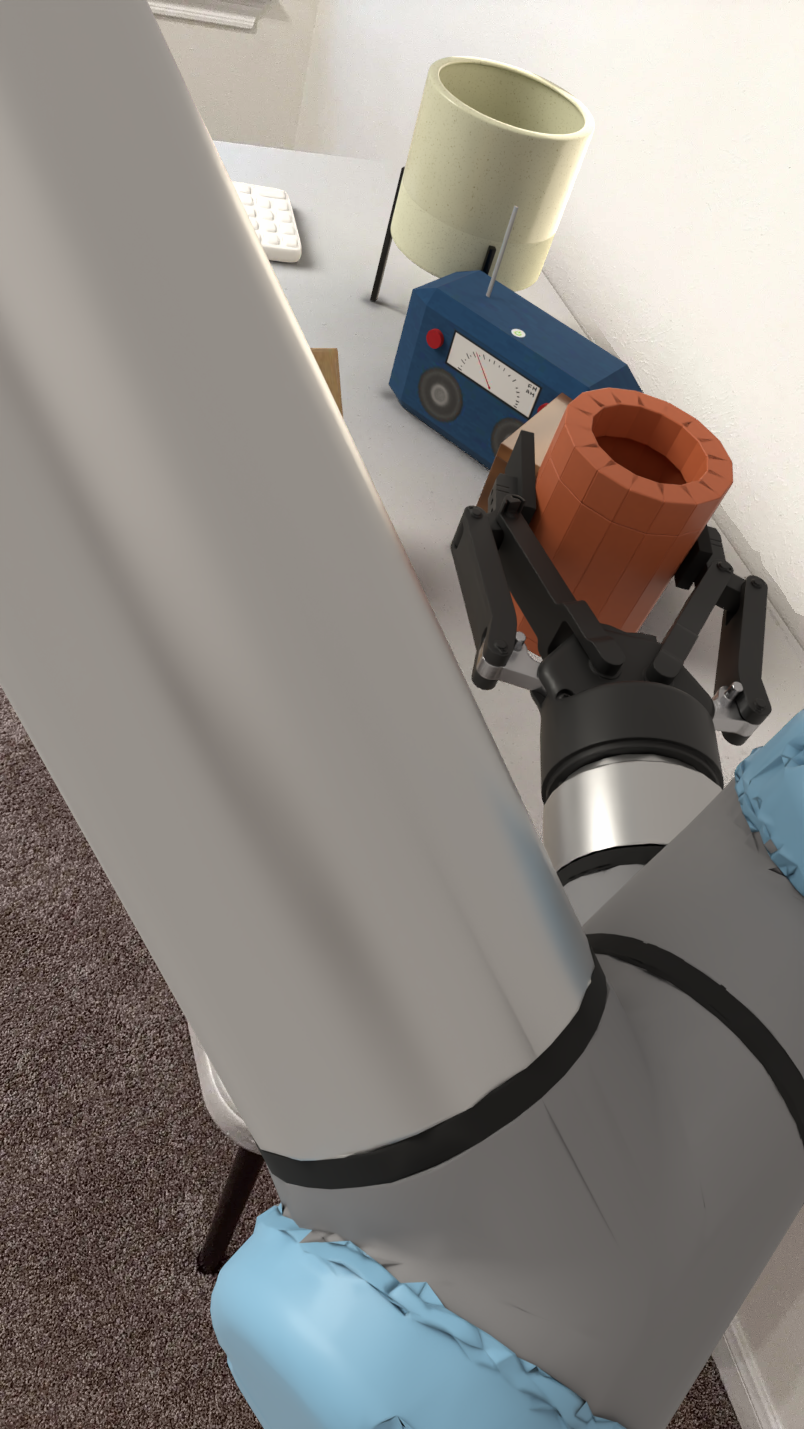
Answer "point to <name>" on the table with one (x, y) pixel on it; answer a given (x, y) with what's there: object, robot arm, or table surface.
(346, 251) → the table surface
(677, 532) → the canister
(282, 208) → the calculator
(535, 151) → the planter
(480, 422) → the radio
